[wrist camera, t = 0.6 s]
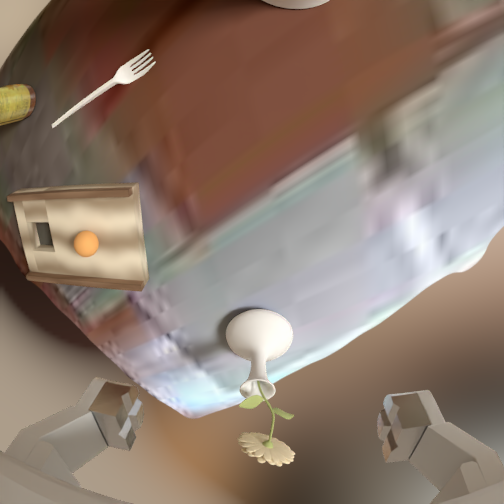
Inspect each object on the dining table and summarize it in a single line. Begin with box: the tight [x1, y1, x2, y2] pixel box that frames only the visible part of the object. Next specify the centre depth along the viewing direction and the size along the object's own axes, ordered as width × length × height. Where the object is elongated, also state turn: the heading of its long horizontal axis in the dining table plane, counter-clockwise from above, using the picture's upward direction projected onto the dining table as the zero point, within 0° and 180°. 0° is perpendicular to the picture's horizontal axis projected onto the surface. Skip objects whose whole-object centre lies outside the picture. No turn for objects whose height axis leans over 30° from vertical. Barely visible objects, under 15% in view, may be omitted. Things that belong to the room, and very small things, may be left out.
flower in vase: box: [226, 309, 295, 466], centre depth 44 cm, size 13×11×25 cm
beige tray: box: [7, 183, 149, 291], centre depth 47 cm, size 16×24×4 cm, turn 89°
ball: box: [74, 231, 99, 257], centre depth 44 cm, size 4×4×4 cm
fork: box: [52, 49, 155, 128], centre depth 38 cm, size 3×20×2 cm, turn 113°
